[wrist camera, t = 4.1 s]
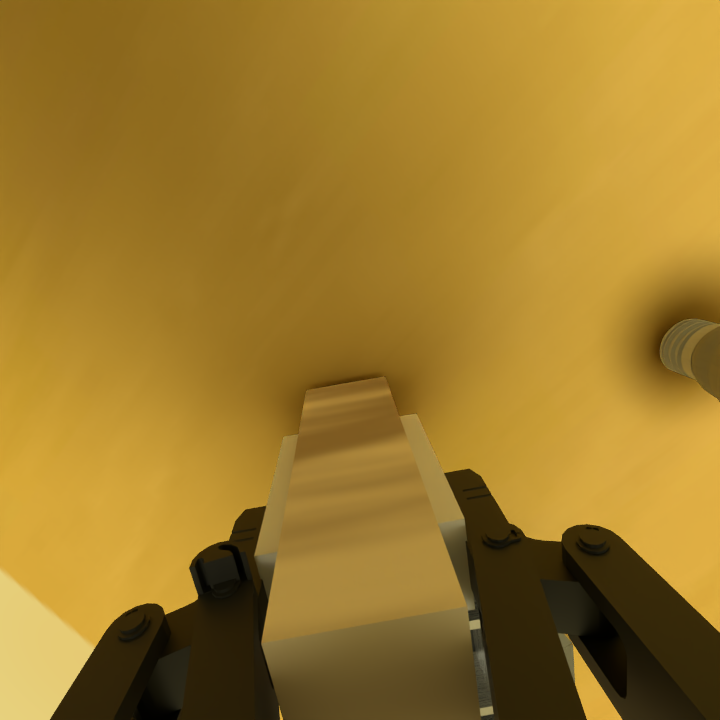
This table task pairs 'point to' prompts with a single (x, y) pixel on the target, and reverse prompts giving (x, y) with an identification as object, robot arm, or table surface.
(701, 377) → the light bulb
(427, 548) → the tan square post
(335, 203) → the table surface
